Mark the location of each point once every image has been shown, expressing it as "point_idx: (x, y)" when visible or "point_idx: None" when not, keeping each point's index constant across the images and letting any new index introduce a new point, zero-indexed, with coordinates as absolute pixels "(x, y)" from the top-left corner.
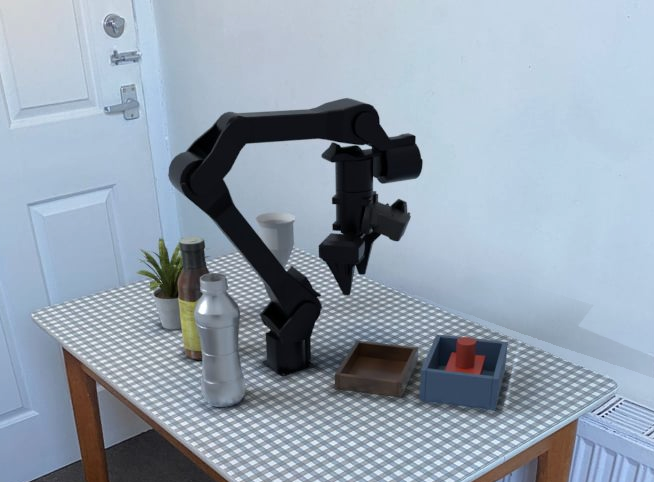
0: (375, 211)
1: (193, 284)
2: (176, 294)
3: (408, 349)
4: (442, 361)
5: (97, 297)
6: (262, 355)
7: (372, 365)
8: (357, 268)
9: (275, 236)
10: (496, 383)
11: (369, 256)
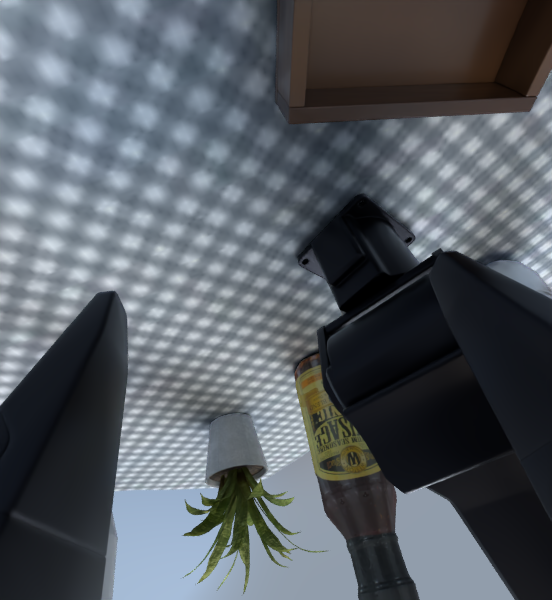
0: None
1: (392, 496)
2: (238, 470)
3: None
4: None
5: (193, 486)
6: (311, 302)
7: (355, 9)
8: (125, 351)
9: (103, 587)
10: None
11: (32, 389)
